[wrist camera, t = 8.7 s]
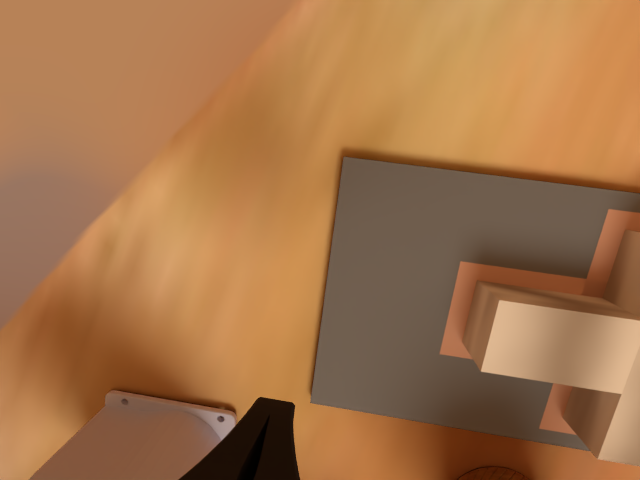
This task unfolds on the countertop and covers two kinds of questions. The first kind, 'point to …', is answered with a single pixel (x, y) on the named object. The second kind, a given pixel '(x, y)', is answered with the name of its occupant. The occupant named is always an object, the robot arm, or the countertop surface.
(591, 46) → the countertop surface
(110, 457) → the robot arm
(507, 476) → the disposable coffee cup
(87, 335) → the countertop surface
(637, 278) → the t block
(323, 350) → the mat
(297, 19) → the countertop surface
